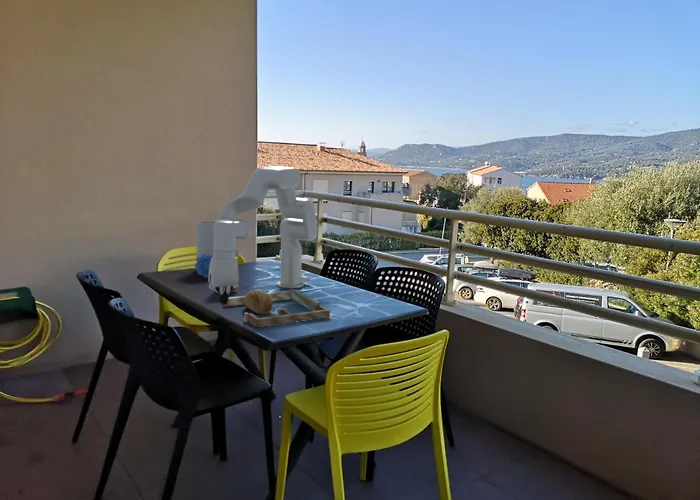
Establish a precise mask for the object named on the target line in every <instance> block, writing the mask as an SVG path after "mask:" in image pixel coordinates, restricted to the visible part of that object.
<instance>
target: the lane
mask: <svg viewBox="0 0 700 500" xmlns="http://www.w3.org/2000/svg"><path fill="white" fill-rule="evenodd" d="M266 293H267V294H268V295H269V296H270V298H271V300H272V302H277V301H278V302H279V301H287V300H288V301H289V300H292V301H293V302H295V303H296V304H298V305H300V306H302V305H303V306H302V307H305V308H306V309H308V310H309V311H311V310H312V311H317V305H321V302H320V301H318V300H316V299H314V298H313V297H310V296H308V295H306V294H304V293H302V292H300V291H299V290H296V289H295V288H289V290H283V291H282V290H281V291H273V292H272V291H271V292H266ZM245 296H246V295H240V296H228V302H227V305H223V306H224V307H231V306H232V307H233V306H242V305H243V306H244V305H245V304H244V298H245ZM283 309H285V310H287V311H288V308H286V307H282V308H277V316H280V315H282V310H283ZM312 311H311V312H312ZM249 314H250V313H249V312H244V313H243V321H244V322H245V323H249V322H248V316H249Z"/></svg>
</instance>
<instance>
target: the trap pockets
mask: <svg viewBox="0 0 700 500" xmlns="http://www.w3.org/2000/svg"><path fill="white" fill-rule="evenodd" d="M330 313H331V310H330V309H329V308H327V307H324V306H323V305H321V304H320V305H317V311H306V312H297V313H292V312H290V311H288V309H287V310H285V309H283V310H282V315H280V316H278V315H273V316H266V317H258V316H257V315H255V314H253V313H252V312H250V313H248V314H249V316H248V321H249V322H250V323H249V322H248V323H249V324H250V325H252V324H253V325H254V326H253V325H252V326H253V327H255V326H256V327H261V328H263V327H262V326H268V327H270V326H269V325H275V326H277V325H276V324H282V325H284V324H283V323H290V322H296V321H302V320H311V319H318V318H326V317H331V316H330V315H331V314H330ZM326 319H327V318H326ZM318 320H319V319H318ZM311 321H312V320H311ZM290 324H291V323H290ZM256 327H255V328H256Z"/></svg>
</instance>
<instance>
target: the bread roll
mask: <svg viewBox="0 0 700 500" xmlns="http://www.w3.org/2000/svg"><path fill="white" fill-rule="evenodd" d="M267 293H268V292H266V291H264V290H259V289H258V290H250V291H247V293H246V294H245V295H244V296H245V298H244V304H243V305H244V306H245V307H246V308H247V309H249V310H251V312H254V313H256V314H259V315H268V314H270V313H271V311H272V309H273V306H274V304H273V301H272V300H271V298H270V296H269V295H268V294H267Z"/></svg>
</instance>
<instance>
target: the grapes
mask: <svg viewBox="0 0 700 500" xmlns="http://www.w3.org/2000/svg"><path fill="white" fill-rule="evenodd" d="M211 258H213V256H212V255H208V256H207V255H206V254H202V256H201V257H198V258H197V257H196V259H195V260H196V263H194V267H195V269H196V272H197V275H199V276H203V278H204V279H208V278H209V267H210V262H211ZM197 262H198V263H197ZM197 269H198V270H197Z"/></svg>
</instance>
